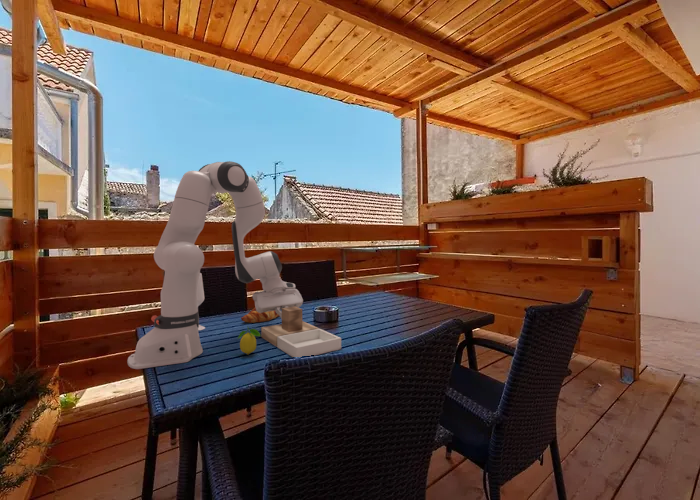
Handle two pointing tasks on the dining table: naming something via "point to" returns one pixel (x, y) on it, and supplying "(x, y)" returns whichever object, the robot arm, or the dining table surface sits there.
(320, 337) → the box
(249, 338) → the lemon
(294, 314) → the walnut block
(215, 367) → the dining table surface
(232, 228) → the robot arm
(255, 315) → the croissant
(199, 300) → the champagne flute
